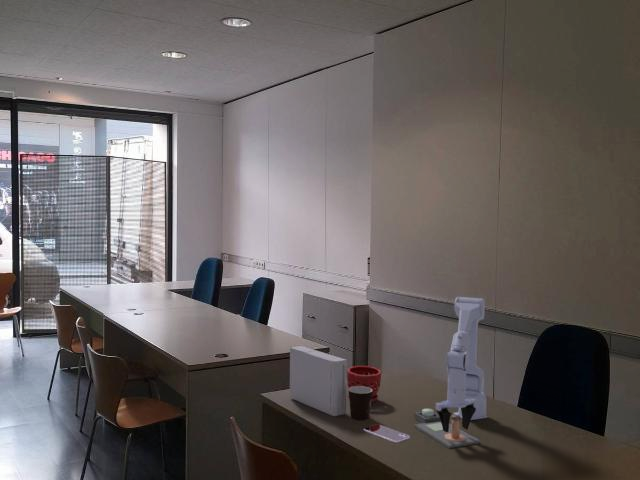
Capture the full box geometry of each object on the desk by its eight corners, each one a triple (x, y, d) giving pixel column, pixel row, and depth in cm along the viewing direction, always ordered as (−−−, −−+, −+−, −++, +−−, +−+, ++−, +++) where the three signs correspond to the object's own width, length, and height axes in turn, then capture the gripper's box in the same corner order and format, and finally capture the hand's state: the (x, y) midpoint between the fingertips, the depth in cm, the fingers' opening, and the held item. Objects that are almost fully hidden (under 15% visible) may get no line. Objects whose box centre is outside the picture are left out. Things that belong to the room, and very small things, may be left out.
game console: (333, 417, 219) (334, 362, 218) (289, 398, 240) (289, 347, 239) (346, 414, 223) (347, 359, 222) (300, 395, 244) (301, 345, 243)
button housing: (430, 415, 222) (430, 410, 222) (441, 422, 216) (441, 416, 215) (413, 418, 219) (414, 412, 219) (424, 424, 213) (424, 418, 213)
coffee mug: (364, 423, 213) (365, 394, 213) (343, 418, 218) (343, 390, 217) (379, 414, 223) (380, 386, 223) (358, 409, 228) (359, 382, 227)
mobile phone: (377, 422, 212) (411, 435, 201) (377, 425, 212) (411, 438, 201) (362, 427, 207) (396, 441, 196) (362, 430, 207) (395, 444, 196)
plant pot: (341, 402, 235) (342, 372, 235) (353, 393, 247) (353, 364, 247) (374, 407, 230) (375, 376, 230) (384, 397, 242) (385, 367, 242)
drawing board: (443, 422, 215) (443, 419, 215) (480, 442, 197) (480, 440, 197) (414, 426, 211) (414, 424, 211) (448, 448, 192) (448, 445, 192)
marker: (456, 435, 201) (456, 414, 201) (461, 438, 198) (461, 416, 198) (449, 436, 200) (449, 415, 199) (454, 439, 197) (454, 417, 197)
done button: (429, 414, 220) (429, 408, 220) (435, 418, 216) (436, 411, 216) (419, 416, 218) (420, 409, 218) (426, 419, 215) (426, 412, 215)
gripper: (445, 394, 192) (443, 436, 192) (482, 389, 197) (481, 430, 198) (432, 387, 198) (431, 429, 199) (469, 383, 204) (468, 423, 205)
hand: (455, 429), depth 199 cm, fingers open, 7 cm apart
